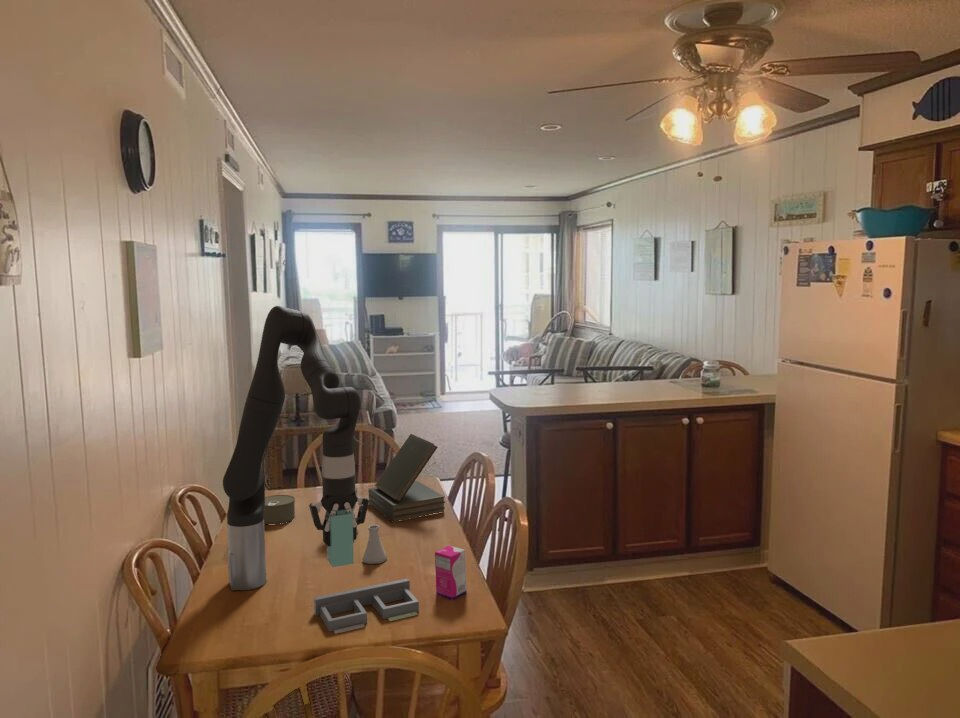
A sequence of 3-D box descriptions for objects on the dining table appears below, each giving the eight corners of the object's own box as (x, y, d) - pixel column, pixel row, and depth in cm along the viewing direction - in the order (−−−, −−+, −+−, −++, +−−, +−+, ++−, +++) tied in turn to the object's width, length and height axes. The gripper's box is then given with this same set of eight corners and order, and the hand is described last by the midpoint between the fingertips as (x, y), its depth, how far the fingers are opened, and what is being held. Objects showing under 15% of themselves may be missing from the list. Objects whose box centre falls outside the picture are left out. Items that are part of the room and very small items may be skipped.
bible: (368, 505, 249) (367, 437, 247) (417, 496, 259) (416, 431, 256) (393, 523, 229) (391, 450, 227) (445, 513, 239) (444, 443, 236)
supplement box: (450, 586, 180) (449, 544, 179) (467, 592, 176) (466, 549, 175) (434, 594, 176) (434, 551, 174) (452, 600, 172) (451, 556, 171)
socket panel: (326, 635, 155) (325, 619, 154) (314, 613, 166) (313, 597, 165) (425, 613, 165) (424, 597, 165) (407, 593, 176) (407, 578, 176)
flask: (382, 565, 194) (381, 531, 193) (358, 564, 195) (357, 530, 194) (390, 556, 201) (389, 523, 200) (367, 554, 202) (366, 521, 201)
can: (300, 514, 239) (300, 495, 238) (287, 526, 227) (286, 506, 226) (267, 513, 240) (267, 494, 239) (252, 525, 228) (252, 505, 227)
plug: (332, 567, 158) (331, 512, 156) (327, 559, 162) (326, 506, 161) (353, 563, 160) (352, 509, 158) (348, 555, 164) (347, 503, 163)
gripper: (311, 480, 152) (312, 554, 154) (373, 473, 158) (374, 544, 160) (304, 472, 159) (306, 543, 161) (364, 465, 165) (365, 533, 167)
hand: (340, 543), depth 160 cm, fingers closed on plug, 5 cm apart
